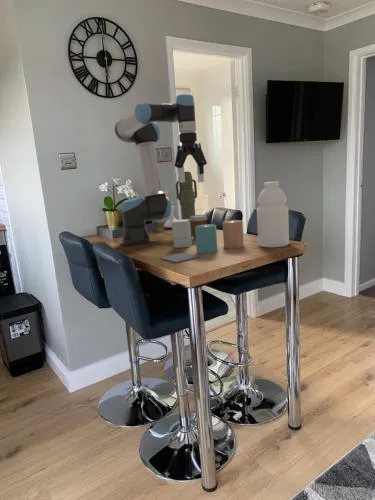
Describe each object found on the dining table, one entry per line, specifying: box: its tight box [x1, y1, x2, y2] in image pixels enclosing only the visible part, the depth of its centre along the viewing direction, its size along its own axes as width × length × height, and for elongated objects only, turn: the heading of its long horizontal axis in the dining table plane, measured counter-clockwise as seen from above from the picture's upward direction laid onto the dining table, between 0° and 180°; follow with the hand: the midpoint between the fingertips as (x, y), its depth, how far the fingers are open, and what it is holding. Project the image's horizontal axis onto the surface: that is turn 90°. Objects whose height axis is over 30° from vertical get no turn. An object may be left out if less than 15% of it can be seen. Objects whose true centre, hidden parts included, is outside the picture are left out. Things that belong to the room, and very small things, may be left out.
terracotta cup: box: [222, 219, 245, 249], centre depth 178 cm, size 9×9×11 cm
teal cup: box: [195, 223, 218, 255], centre depth 172 cm, size 9×9×11 cm
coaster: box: [160, 252, 201, 264], centre depth 164 cm, size 12×12×1 cm
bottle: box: [256, 181, 290, 248], centre depth 173 cm, size 14×14×28 cm
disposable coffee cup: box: [190, 214, 208, 240], centre depth 205 cm, size 10×10×12 cm
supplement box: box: [171, 219, 193, 249], centre depth 188 cm, size 7×7×13 cm
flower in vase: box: [162, 188, 178, 229], centre depth 250 cm, size 13×11×25 cm
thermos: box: [175, 171, 198, 236], centre depth 220 cm, size 9×12×35 cm
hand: (191, 182), depth 173 cm, fingers open, 13 cm apart
